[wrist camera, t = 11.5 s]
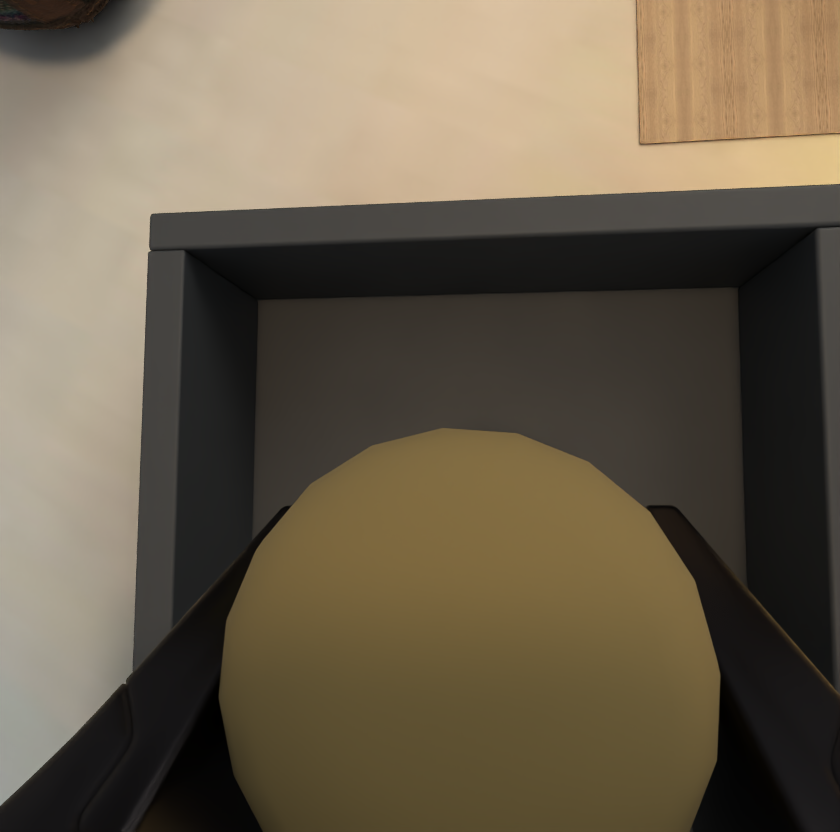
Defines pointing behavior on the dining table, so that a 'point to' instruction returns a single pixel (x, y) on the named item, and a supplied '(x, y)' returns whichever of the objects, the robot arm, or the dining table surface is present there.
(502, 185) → the dining table surface
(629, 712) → the tan pawn figure
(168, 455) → the bin
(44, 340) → the dining table surface
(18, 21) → the mate gourd
